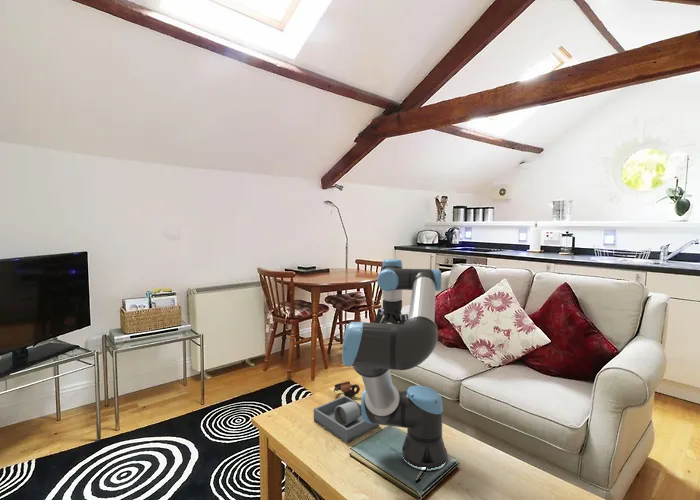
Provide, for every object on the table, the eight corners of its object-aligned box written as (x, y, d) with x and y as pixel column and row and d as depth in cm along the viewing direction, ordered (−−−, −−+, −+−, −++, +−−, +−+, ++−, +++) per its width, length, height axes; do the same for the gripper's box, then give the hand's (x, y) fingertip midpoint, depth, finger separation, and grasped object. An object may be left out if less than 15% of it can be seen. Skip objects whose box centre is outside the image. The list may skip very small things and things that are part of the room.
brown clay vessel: (335, 404, 168) (331, 385, 171) (338, 404, 177) (334, 385, 180) (361, 397, 168) (356, 378, 171) (363, 397, 177) (358, 379, 180)
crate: (379, 426, 150) (379, 414, 149) (347, 443, 139) (347, 430, 138) (345, 406, 165) (344, 395, 165) (313, 420, 154) (313, 408, 154)
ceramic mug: (362, 421, 151) (361, 402, 151) (347, 429, 146) (346, 410, 145) (343, 412, 159) (343, 394, 158) (328, 419, 153) (328, 401, 153)
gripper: (424, 303, 141) (423, 358, 143) (376, 293, 159) (376, 342, 161) (411, 306, 136) (411, 364, 138) (363, 295, 154) (363, 346, 156)
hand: (392, 352), depth 149 cm, fingers open, 13 cm apart
